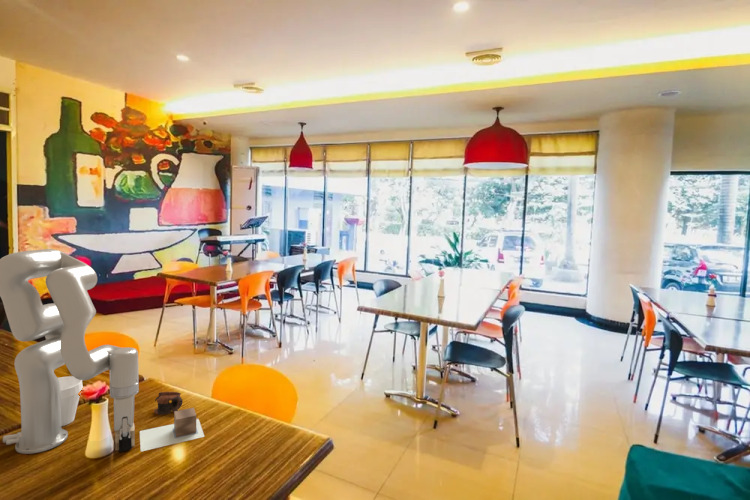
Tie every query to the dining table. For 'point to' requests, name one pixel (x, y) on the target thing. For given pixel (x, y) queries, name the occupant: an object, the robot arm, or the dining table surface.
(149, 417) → the dining table surface
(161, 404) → the pottery mug
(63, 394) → the cup
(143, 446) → the white rectangular board
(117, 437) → the maple block
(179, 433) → the walnut cube
